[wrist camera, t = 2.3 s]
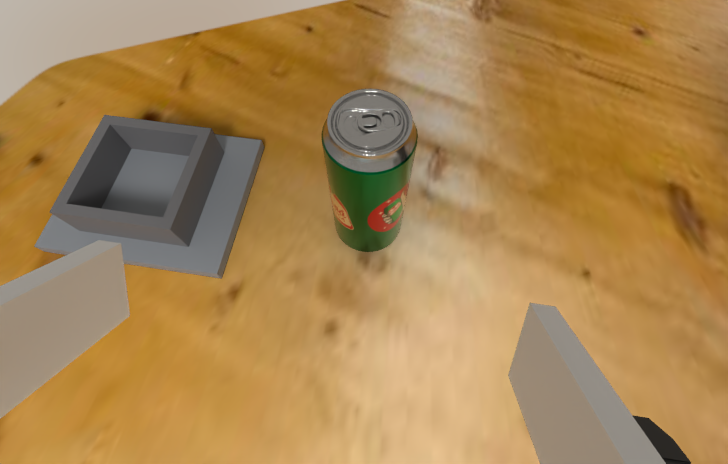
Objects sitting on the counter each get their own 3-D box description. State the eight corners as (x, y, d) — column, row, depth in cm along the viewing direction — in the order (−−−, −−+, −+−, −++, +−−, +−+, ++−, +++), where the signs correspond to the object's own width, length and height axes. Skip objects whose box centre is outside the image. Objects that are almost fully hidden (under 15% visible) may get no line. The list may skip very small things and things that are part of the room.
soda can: (332, 200, 31) (315, 87, 20) (394, 193, 31) (410, 78, 20) (339, 258, 29) (323, 167, 18) (405, 250, 29) (429, 155, 18)
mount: (264, 147, 33) (252, 115, 29) (221, 278, 28) (200, 259, 24) (112, 128, 34) (81, 94, 30) (44, 251, 29) (-2, 229, 25)
